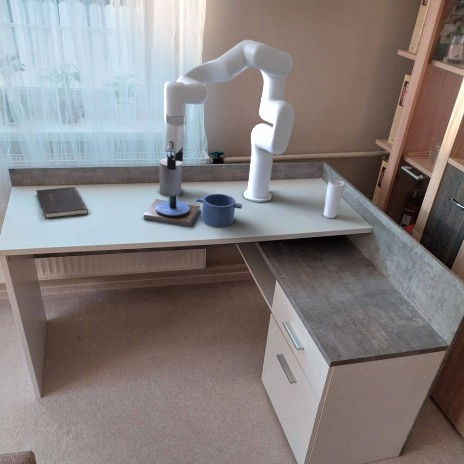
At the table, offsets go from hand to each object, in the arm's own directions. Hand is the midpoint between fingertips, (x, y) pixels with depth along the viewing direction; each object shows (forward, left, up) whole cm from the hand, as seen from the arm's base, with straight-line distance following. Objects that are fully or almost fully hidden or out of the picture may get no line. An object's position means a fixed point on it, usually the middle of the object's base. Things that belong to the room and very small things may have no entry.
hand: (175, 165), depth 185 cm
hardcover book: (+7, -45, -21) cm, 50 cm away
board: (0, -1, -21) cm, 21 cm away
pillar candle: (-22, -8, -21) cm, 31 cm away
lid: (0, -1, -18) cm, 18 cm away
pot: (-2, +18, -21) cm, 27 cm away
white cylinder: (-23, +63, -21) cm, 70 cm away
